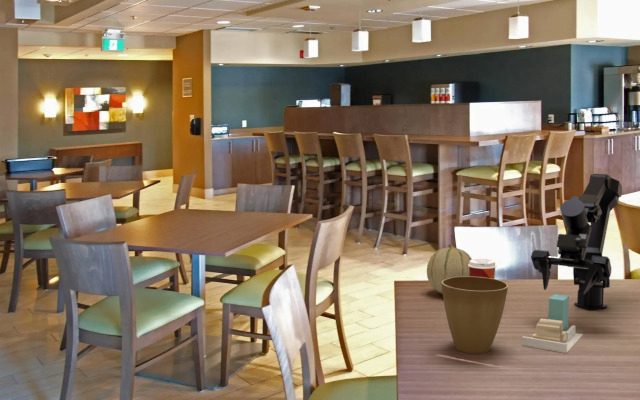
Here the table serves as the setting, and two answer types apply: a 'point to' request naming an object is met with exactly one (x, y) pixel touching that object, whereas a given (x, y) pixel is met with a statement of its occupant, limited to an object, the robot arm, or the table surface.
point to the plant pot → (474, 311)
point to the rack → (552, 345)
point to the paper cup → (482, 268)
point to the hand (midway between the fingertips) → (563, 291)
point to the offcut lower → (560, 339)
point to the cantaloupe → (447, 266)
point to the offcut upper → (549, 328)
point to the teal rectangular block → (559, 309)
